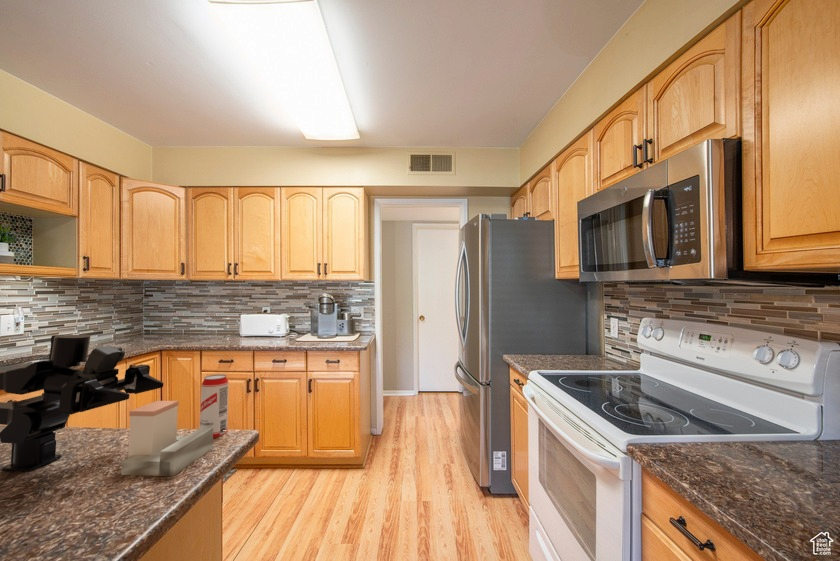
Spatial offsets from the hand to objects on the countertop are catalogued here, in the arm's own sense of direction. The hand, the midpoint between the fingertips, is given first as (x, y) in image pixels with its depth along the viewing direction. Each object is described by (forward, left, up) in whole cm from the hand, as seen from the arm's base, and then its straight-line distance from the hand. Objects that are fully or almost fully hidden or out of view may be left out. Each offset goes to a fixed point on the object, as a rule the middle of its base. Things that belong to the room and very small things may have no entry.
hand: (146, 390), depth 76 cm
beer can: (+6, +15, -17) cm, 23 cm away
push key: (+2, 0, -15) cm, 15 cm away
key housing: (+4, 0, -16) cm, 17 cm away
